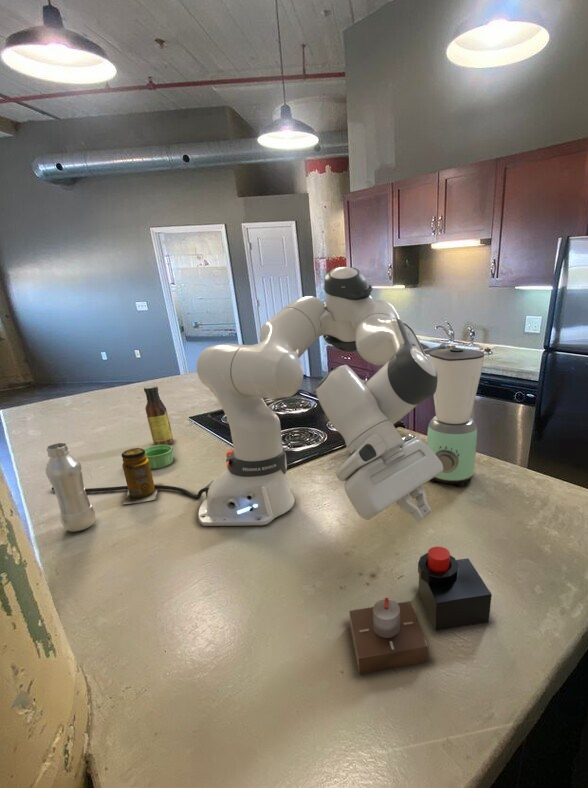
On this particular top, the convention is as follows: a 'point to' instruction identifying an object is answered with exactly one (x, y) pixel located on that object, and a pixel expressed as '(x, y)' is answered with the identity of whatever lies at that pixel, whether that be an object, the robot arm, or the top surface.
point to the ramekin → (159, 455)
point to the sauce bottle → (157, 417)
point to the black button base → (454, 594)
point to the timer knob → (386, 618)
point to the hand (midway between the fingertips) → (424, 517)
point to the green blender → (455, 413)
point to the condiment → (138, 476)
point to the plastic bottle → (69, 488)
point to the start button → (438, 559)
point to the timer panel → (387, 641)
